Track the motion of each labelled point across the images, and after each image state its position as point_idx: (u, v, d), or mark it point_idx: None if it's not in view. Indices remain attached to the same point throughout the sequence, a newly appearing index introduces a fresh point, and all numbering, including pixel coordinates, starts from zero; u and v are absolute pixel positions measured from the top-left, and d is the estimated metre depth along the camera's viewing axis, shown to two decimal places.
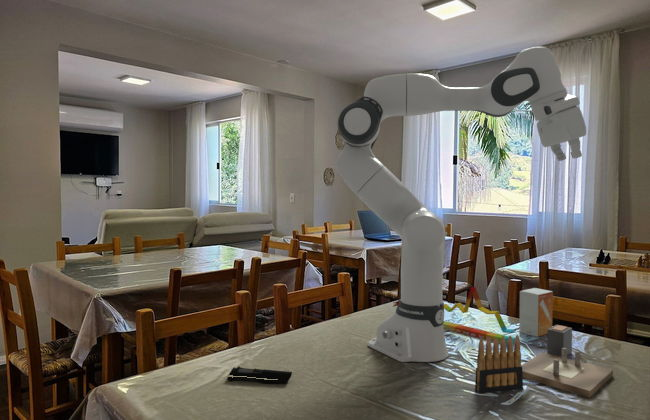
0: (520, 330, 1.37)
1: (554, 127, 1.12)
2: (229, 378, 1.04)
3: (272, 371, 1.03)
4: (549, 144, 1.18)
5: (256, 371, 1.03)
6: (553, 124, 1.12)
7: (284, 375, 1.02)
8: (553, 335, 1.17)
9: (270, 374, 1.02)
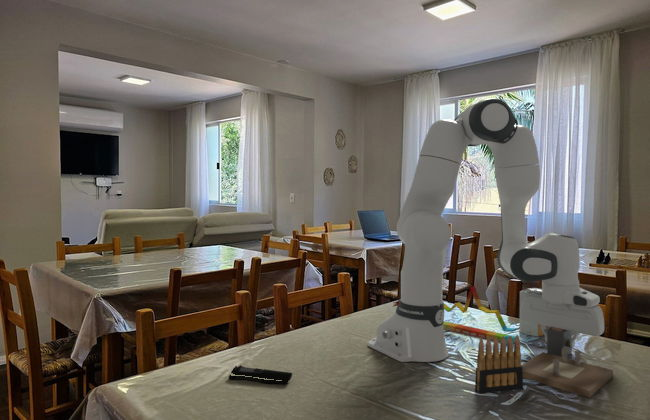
0: (520, 330, 1.37)
1: (564, 313, 1.16)
2: (230, 377, 1.04)
3: (272, 371, 1.03)
4: (539, 323, 1.21)
5: (257, 371, 1.04)
6: (564, 310, 1.16)
7: (284, 376, 1.01)
8: (553, 335, 1.17)
9: (270, 374, 1.02)
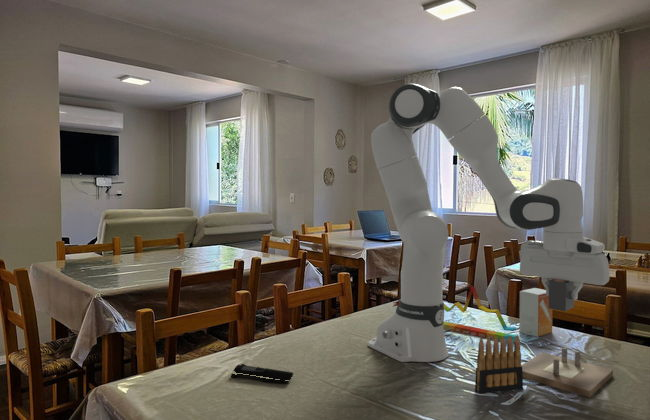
0: (520, 330, 1.37)
1: (567, 263, 1.09)
2: (233, 375, 1.05)
3: (273, 370, 1.03)
4: (540, 275, 1.14)
5: (258, 370, 1.04)
6: (567, 260, 1.09)
7: (285, 375, 1.02)
8: (555, 286, 1.10)
9: (271, 373, 1.03)
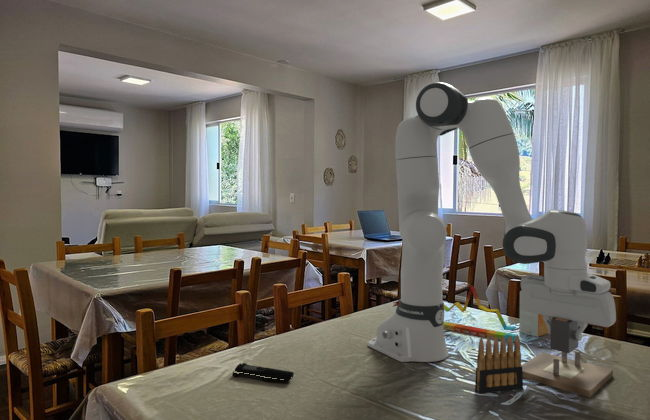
0: (520, 330, 1.37)
1: (570, 301, 1.02)
2: (234, 374, 1.06)
3: (274, 370, 1.04)
4: (541, 313, 1.06)
5: (259, 369, 1.05)
6: (570, 298, 1.02)
7: (285, 375, 1.02)
8: (557, 326, 1.03)
9: (272, 372, 1.03)
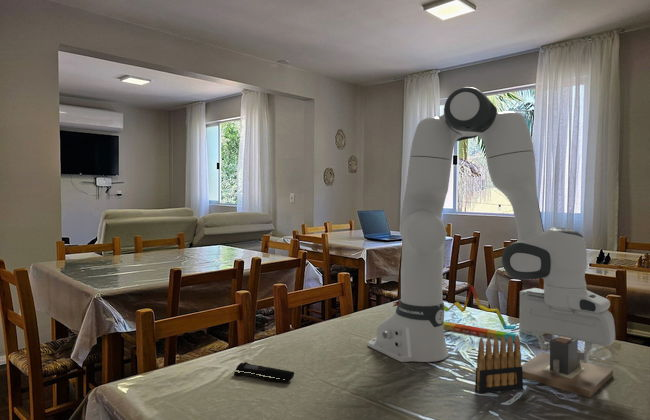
0: (520, 330, 1.37)
1: (569, 320, 1.02)
2: (235, 373, 1.07)
3: (275, 369, 1.04)
4: (541, 330, 1.07)
5: (260, 368, 1.05)
6: (569, 316, 1.02)
7: (285, 375, 1.02)
8: (556, 347, 1.03)
9: (272, 372, 1.03)
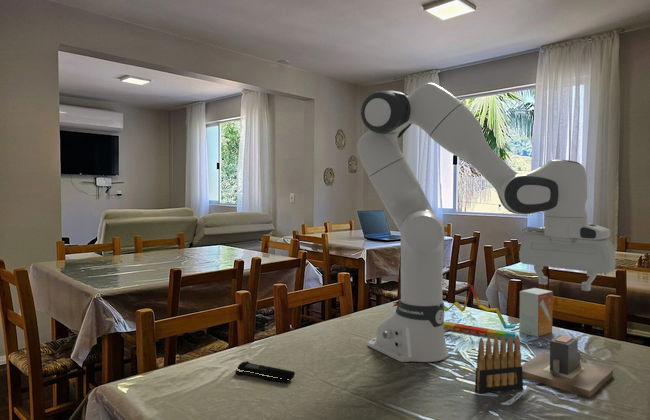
0: (520, 330, 1.37)
1: (569, 250, 1.02)
2: (237, 372, 1.07)
3: (276, 369, 1.04)
4: (541, 264, 1.06)
5: (261, 368, 1.06)
6: (569, 247, 1.02)
7: (286, 374, 1.02)
8: (556, 347, 1.03)
9: (273, 371, 1.04)
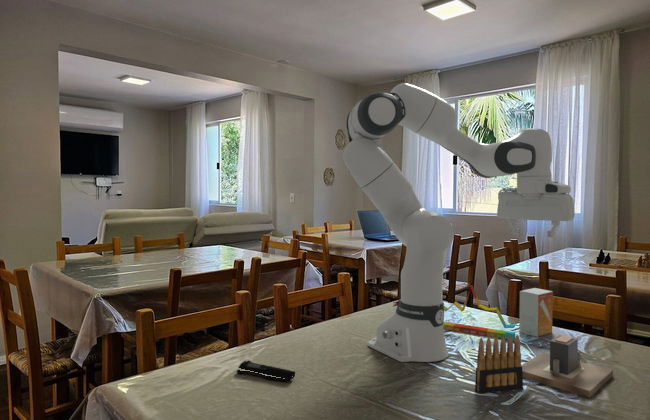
0: (520, 330, 1.37)
1: (537, 204, 1.22)
2: (238, 371, 1.08)
3: (276, 369, 1.04)
4: (514, 217, 1.27)
5: (262, 367, 1.06)
6: (537, 201, 1.22)
7: (286, 374, 1.02)
8: (556, 347, 1.03)
9: (274, 371, 1.04)
